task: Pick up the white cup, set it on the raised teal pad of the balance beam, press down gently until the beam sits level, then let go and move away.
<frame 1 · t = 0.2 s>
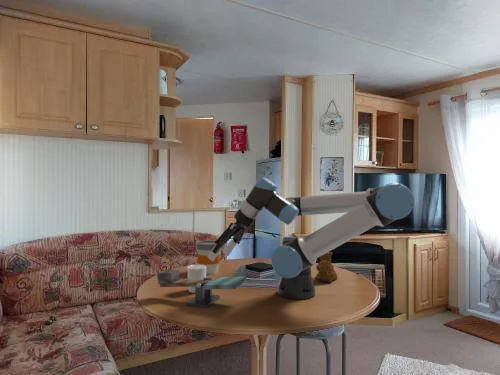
hand: (218, 256, 142), 16 cm above the table, tool tilted 35°, fingers open, 13 cm apart
white cup: (196, 291, 149), on the table
beam stand: (203, 301, 134), on the table
stuffed squirrel: (326, 280, 167), on the table
balance beam: (199, 277, 135), point 9 cm above the table, hinge at 6.0°
reusable coffee cup: (208, 272, 181), on the table
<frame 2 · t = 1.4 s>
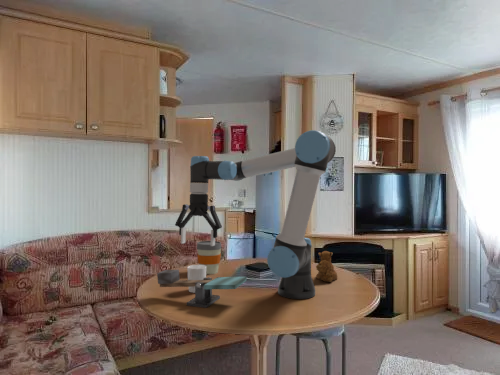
hand: (197, 244, 148), 19 cm above the table, tool pointing down, fingers open, 13 cm apart
nothing on the table moved.
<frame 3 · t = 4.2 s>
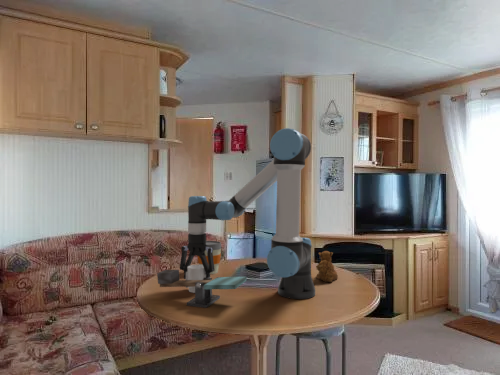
hand: (196, 287, 149), 1 cm above the table, tool pointing down, fingers closed on white cup, 8 cm apart
white cup: (196, 291, 149), on the table, touching gripper
everything else where it was.
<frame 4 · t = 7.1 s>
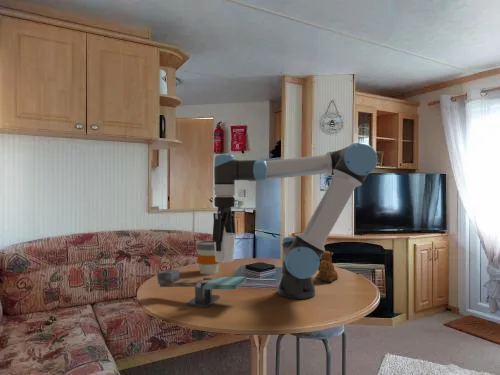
hand: (224, 257, 133), 17 cm above the table, tool pointing down, fingers closed on white cup, 8 cm apart
white cup: (224, 261, 133), point 16 cm above the table, touching gripper
everything else where it was.
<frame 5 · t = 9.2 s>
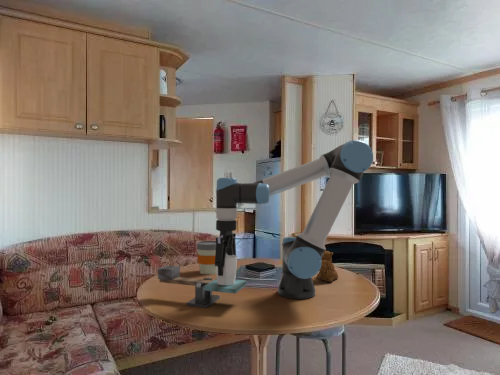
hand: (225, 281, 132), 8 cm above the table, tool pointing down, fingers closed on white cup, 7 cm apart
white cup: (226, 283, 132), point 8 cm above the table, touching balance beam, gripper
balance beam: (200, 277, 135), point 9 cm above the table, hinge at 0.0°, touching white cup
everything else where it was.
when the fingers open (8 cm above the table, at t = 10.1 s): white cup stays where it is, resting on balance beam.
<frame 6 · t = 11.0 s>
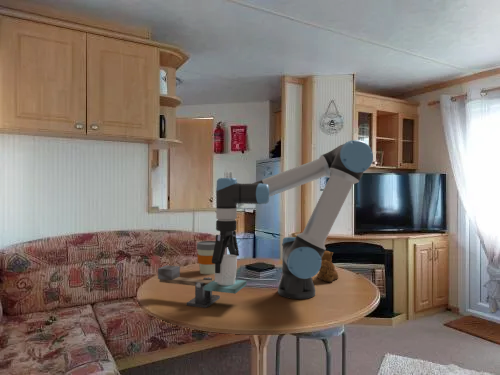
hand: (226, 277, 132), 10 cm above the table, tool pointing down, fingers open, 13 cm apart
white cup: (226, 283, 132), point 8 cm above the table, touching balance beam
everything else where it was.
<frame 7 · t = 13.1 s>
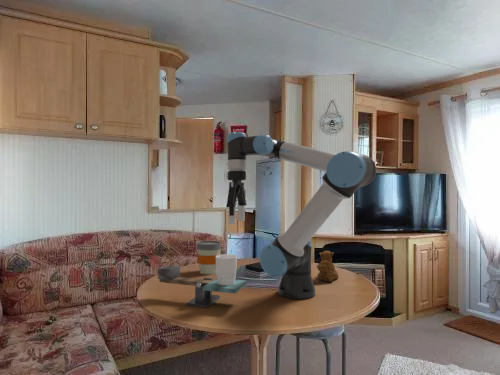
hand: (237, 222, 146), 29 cm above the table, tool pointing down, fingers open, 13 cm apart
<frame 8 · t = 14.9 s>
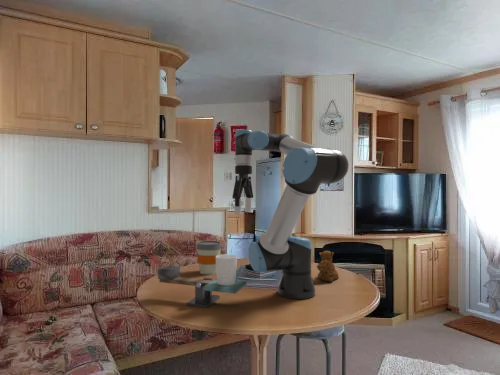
hand: (243, 213, 158), 32 cm above the table, tool pointing down, fingers open, 13 cm apart
at the end: balance beam at +0° (first picture: +6°); white cup inside the target area on the balance beam (0.1 cm from its centre), point 0.5 cm above the balance beam's base; white cup tilted 0° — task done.
